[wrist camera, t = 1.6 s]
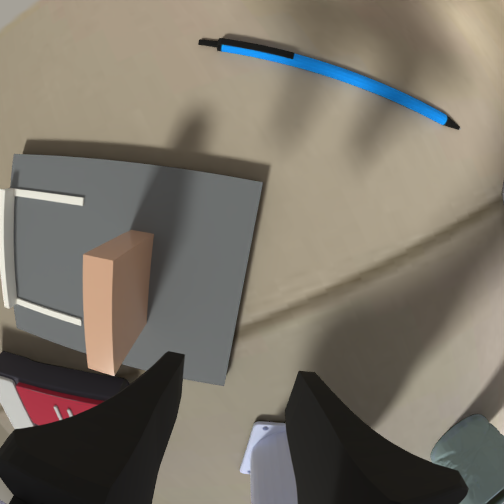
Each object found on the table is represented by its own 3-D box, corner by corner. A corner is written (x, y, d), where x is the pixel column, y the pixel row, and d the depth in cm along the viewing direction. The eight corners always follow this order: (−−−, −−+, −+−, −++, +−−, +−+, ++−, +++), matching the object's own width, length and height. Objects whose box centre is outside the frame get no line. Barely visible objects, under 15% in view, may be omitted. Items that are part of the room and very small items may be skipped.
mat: (261, 182, 18) (264, 182, 16) (224, 377, 21) (223, 396, 19) (22, 154, 17) (3, 153, 14) (23, 323, 20) (9, 333, 18)
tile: (153, 233, 17) (113, 260, 11) (146, 323, 19) (114, 376, 13) (128, 229, 17) (80, 253, 11) (124, 317, 19) (85, 367, 13)
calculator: (146, 482, 20) (22, 449, 19) (152, 451, 25) (36, 426, 23) (116, 404, 18) (-20, 370, 17) (131, 371, 22) (2, 349, 21)
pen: (202, 39, 16) (199, 32, 15) (457, 124, 17) (466, 123, 16) (198, 50, 16) (195, 43, 15) (456, 134, 17) (465, 133, 16)
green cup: (411, 467, 26) (444, 536, 14) (457, 408, 23) (510, 479, 12) (459, 458, 27) (493, 512, 15) (501, 404, 24) (547, 457, 13)
